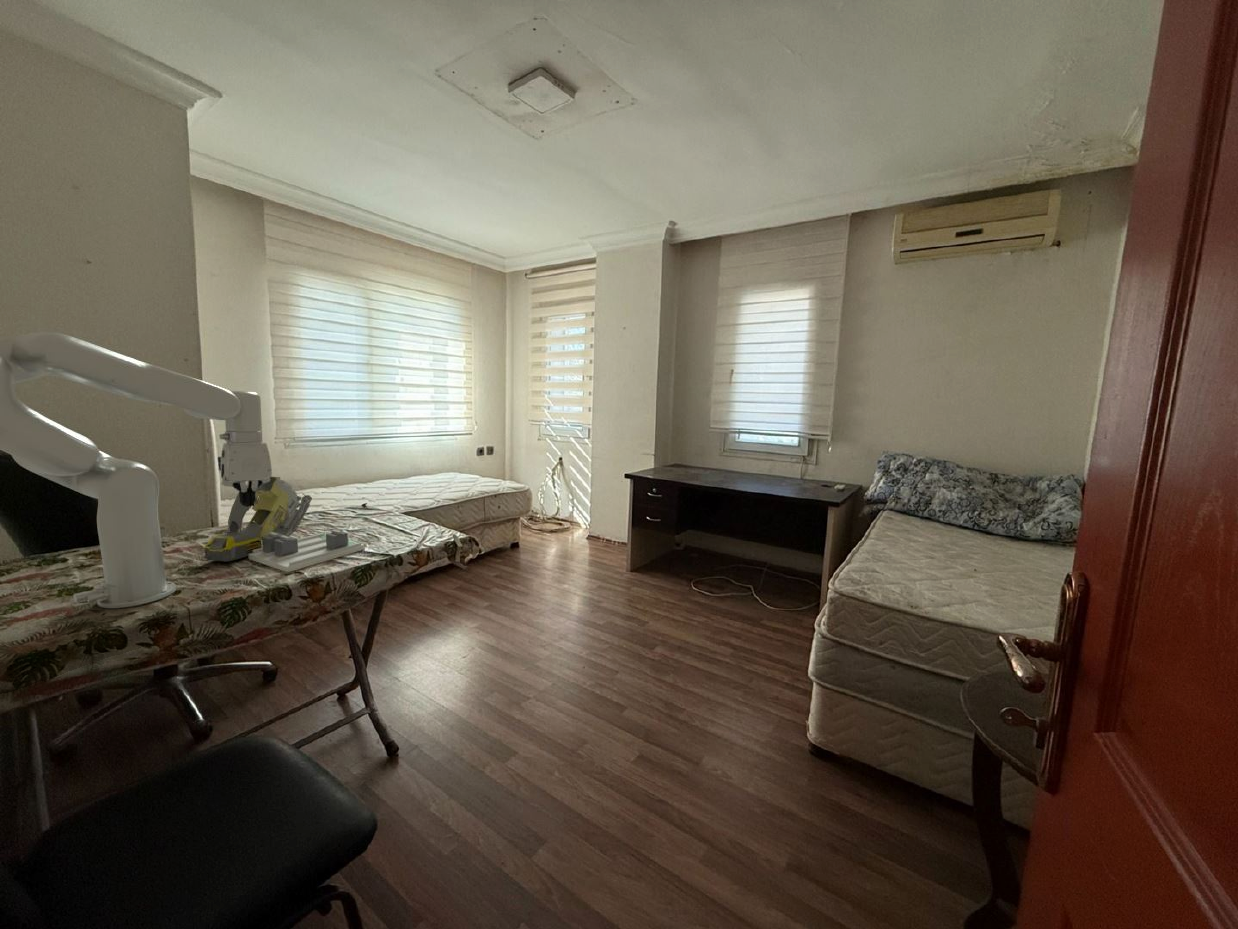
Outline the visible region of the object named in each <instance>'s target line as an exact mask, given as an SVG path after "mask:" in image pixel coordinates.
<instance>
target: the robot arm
mask: <svg viewBox="0 0 1238 929" xmlns="http://www.w3.org/2000/svg"><path fill="white" fill-rule="evenodd" d="M46 376H47V377H48V376H54V377H58V378H60V379H64V380H68V381H71V382H74V383H78V384H81V385H85V386H88V387H91V388H95V389H98V390H101V391H104V392H108V393H110V394H111V393H112V394H114V395H118V396H121V397H124V398H128V399H132V400H135V401H136V400H137V401H142V402H149V403H156V404H163V405H167V406H172V407H176V408H180V409H182V410H183V411H184V412H185V413H186V414H187V415H189V416H192V417H193V418H197V419H203V420H216V421H224V424H225V425H224V426H225V431H224V433H220V434H219V439H220V440H224V441H225V442H226V443H223V444H222V450H221V454H220V477H221V479H222V481H221V484H220V485H221V486H223V487H231V488H232V487H233V488H234V489H235V490H236V491H238V493H239V497H240V503H241V504H242V505H243V506H246V507H249V506H251V507H253V506H254V502H255V501H256V499H255V491H256V490H257V488H258V487H259V486H260V485H261V484H263V483H267V482H269V481H270V477H273V476H272V475H273V472H272V469H273V468H272V463H271V462H272V460H271V457H270V452H269V448H268V447H269V446H268V444H267V442H263V427H262V426H263V425H262V424H263V423H262V403H261V402H262V401H261V397H260V394H259V393H257V392H255V391H243V390H242V391H241V390H228V389H225V388H223V387H221V386H218V385H215V384H212V383H209V382H206V381H204V380H201V379H197V378H196V377H195V378H194V377H192V376H190V375H189V376H188V375H185V374H181V373H179V372H176V371H172V370H170V369H166V368H164V367H160V366H157V365H154V364H150V363H147V362H144V361H141V360H139V359H136V358H133V357H130V356H127V355H124V354H122V353H118V352H115V351H113V350H111V349H107V348H105V347H103V346H102V347H101V346H100V345H97V344H93V343H91V342H88V341H86V340H84V339H80V338H77V337H74V336H72V335H68V334H64V333H60V332H51V331H50V332H47V331H46V332H30V333H25V334H20V335H14V336H9V337H8V336H7V337H3V338H0V451H2V452H5V453H7V454H9V455H11V457H12V459H13V460H14V461H15V462H16V463H17V464H18V465H19V466H20V467H22V468H24V469H25V470H27V471H29V472H31V473H33V474H35V475H38V476H41V477H43V478H44V479H47V480H49V481H51V482H52V481H53V482H54V483H56V484H59V485H61V486H63V487H66V488H69V489H71V490H73V491H75V492H78V493H80V494H82V495H84V496H88V497H90V498H93V499H97V501H98V502H97V503H98V505H97V512H96V525H97V527H96V528H97V534H98V541H99V549H100V554H101V560H102V561H101V562H102V570H103V577H104V581H101V582H99V586H97V587H94V589H93V590H86V591H82V592H77V593H73V601H74V603H76V604H77V603H81V602H86V601H87V602H88V603H91V602H95V601H96V603H97V605H98V607H100V608H105V609H120V608H129V607H137V606H141V605H145V604H149V603H152V602H155V601H158V600H161V599H164V598H166V597H168V596H170V595H172V594H173V593H174V592H176V590H177V586H176V584H177V583H175V582H172V581H167V579H166V571H165V563H164V561H165V560H164V553H163V545H162V536H161V530H160V529H161V527H160V519H159V496H160V494H159V493H160V482H159V479H158V476H157V474H156V473H155V472H154V471H153V470H152V469H151V468H150V467H149V466H147V465H145V464H143V463H140V462H137V461H134V460H128V459H123V458H122V459H120V458H116V457H114V456H112V455H109V454H107V453H106V452H103V451H102V450H99V447H98V445H96V444H95V442H93V440H91V439H89V438H88V437H87V436H85V435H83V434H81V433H78V432H77V431H74V430H72V429H70V428H68V427H65V426H64V425H62V424H60V423H57V421H54V420H53V419H50V418H48V417H46V416H44V415H43V414H42V413H40V412H38V411H36V410H34V409H32V408H30V407H29V406H27V405H26V404H25V403H23V402H22V401H21V400H20V399H19V398H18V397H17V395H16V394H15V390H14V384H18V383H22V382H26V381H30V380H35V379H39V378H42V377H46ZM246 482H247V483H246ZM246 485H247V487H246Z"/></svg>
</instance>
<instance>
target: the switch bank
mask: <svg viewBox="0 0 1238 929" xmlns="http://www.w3.org/2000/svg"><path fill="white" fill-rule="evenodd" d="M296 539H297V542H298V552H297V553H293V554H290V555H286V556H282V557H278V556H275V551H274V552H270V553H266V552H263V547H262V548H259V549H255V550H252V552H253V553H250V554H248V556H247V557H248V560H250V561H253V562H257V563H258V564H262V565H265V566H267V567H271V568H274V569H276V570H280V571H282V572H285V573H290V572H293V571H296V570H300V569H304V568H307V567H311V566H313V565H316V564H321V563H323V562H327V561H331V560H333V559H336V558H341V557H344V556H346V555H351V554H353V553H357V552H360V551H361V552H362V551H364V550H365V549H366V548H365V544H364V543H362V542H357V541H352V540H349V538H348V546H345V547H341V548H338V549H334V550H330V549H327V546H326V533H325V532H321V533H317V534H316V533H315V534H314V535H313V534H312V535H309V536H305V537H301V538H296Z"/></svg>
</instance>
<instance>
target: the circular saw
mask: <svg viewBox="0 0 1238 929" xmlns="http://www.w3.org/2000/svg"><path fill="white" fill-rule="evenodd" d="M247 485H248V484H246V487H247ZM298 494H302V495H303V496H302V497H301V496H299V495H298ZM255 499H256V501H255V502H254V506H249V507H246V506H243V505H242V504H241V503H240V497H239V492H238V493H237V496H236V498H235V499H234V502H233V504H232V506H231V509H230V512H229V515H228V519H227V525H228V530H227V531H228V532H226V533H221V534H217V535H215V536H213V537H212V538H210V540H209V541H208V542H207V544H206V545H205V546H204V551H205V553H204V555H205V559H206V560H207V561H214V562H215V561H216V562H217V561H219V562H232V561H235V560H239V559H242V558H246V557H249V556H248V554H250V553H253V552H252V550H255V549H259V548H263V544H262V536H267V535H268V533H270V532H274V533H279V534H282V535H285V536H288V537H291V535H293V533H295V532H296V531H297V529H298V528H299V526H300V524H301V522H302V520H303V519H304V516H305V515H306V513H307V511H308V509H309V508H310V506H311V501H312V500H313V497H311V495H309V494H306V495H305V493H304V492H296V491H295V490H293V487H292V484H290V483H288V482H287V481H285V480H284V479H283V480H282V479H281V477H279V476H271V477H270V481H269V482H267V483H263V484H261V485H260V486H259V487H258V488H257V490H256V491H255ZM300 501H301V502H300ZM250 509H251V510H253V511H255V512H254V515H253V516H252V518H251V519H250V521H249V522H248V524H247V526H246V527H245V528H243V529H242V527H243V521H244V517H245V515H246V513H247V512H249V510H250Z"/></svg>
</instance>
